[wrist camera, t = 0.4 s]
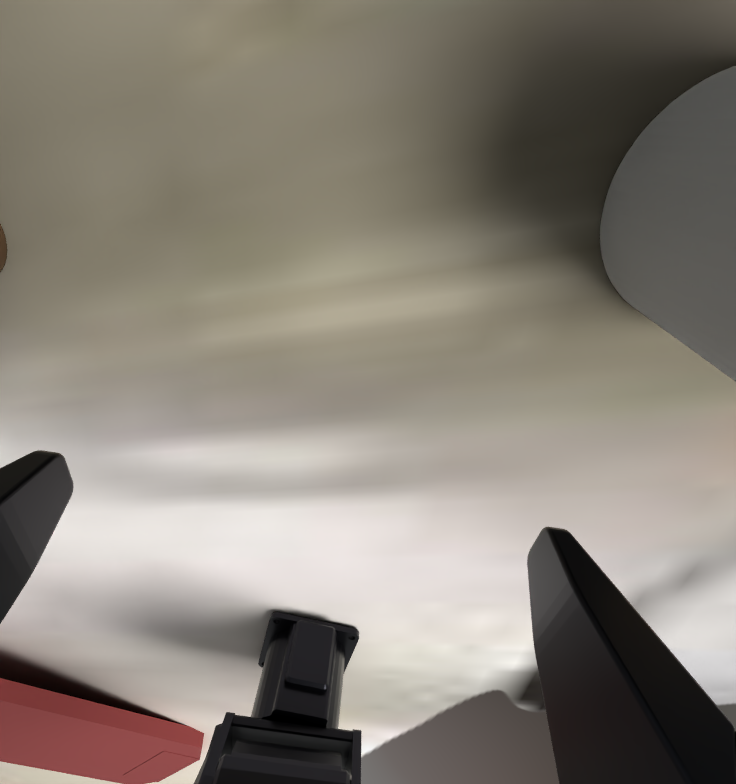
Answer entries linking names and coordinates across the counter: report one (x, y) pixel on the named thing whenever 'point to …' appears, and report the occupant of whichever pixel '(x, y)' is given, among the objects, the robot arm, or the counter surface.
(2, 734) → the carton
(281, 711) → the robot arm
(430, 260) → the counter surface
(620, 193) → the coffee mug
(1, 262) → the tan round-ended cylinder
